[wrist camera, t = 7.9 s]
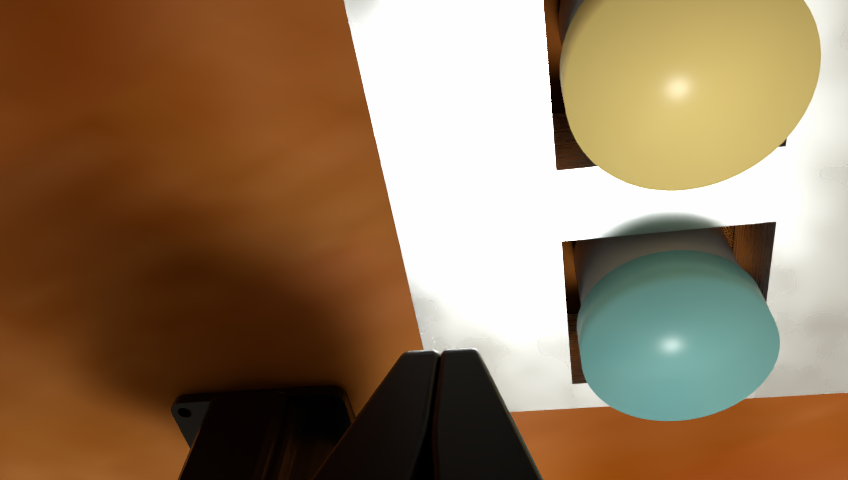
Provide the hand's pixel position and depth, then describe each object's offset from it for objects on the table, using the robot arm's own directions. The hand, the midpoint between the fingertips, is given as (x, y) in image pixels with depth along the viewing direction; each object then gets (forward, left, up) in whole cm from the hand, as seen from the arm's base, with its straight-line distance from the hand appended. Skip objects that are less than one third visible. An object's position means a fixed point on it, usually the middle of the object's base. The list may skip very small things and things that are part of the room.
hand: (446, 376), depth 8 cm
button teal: (-7, -4, -11) cm, 14 cm away
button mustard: (0, -4, -11) cm, 12 cm away
